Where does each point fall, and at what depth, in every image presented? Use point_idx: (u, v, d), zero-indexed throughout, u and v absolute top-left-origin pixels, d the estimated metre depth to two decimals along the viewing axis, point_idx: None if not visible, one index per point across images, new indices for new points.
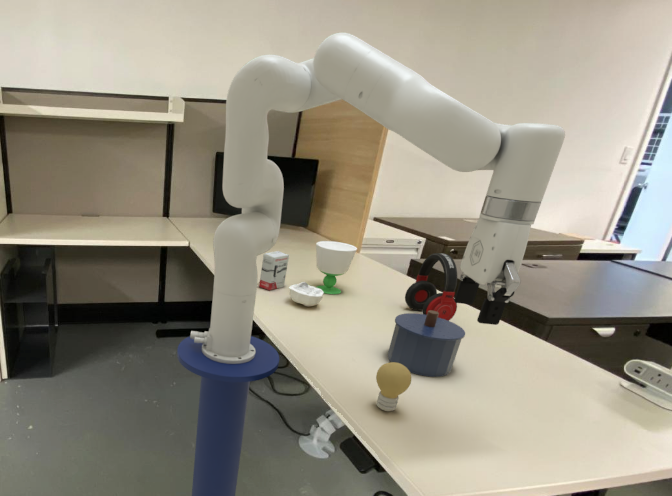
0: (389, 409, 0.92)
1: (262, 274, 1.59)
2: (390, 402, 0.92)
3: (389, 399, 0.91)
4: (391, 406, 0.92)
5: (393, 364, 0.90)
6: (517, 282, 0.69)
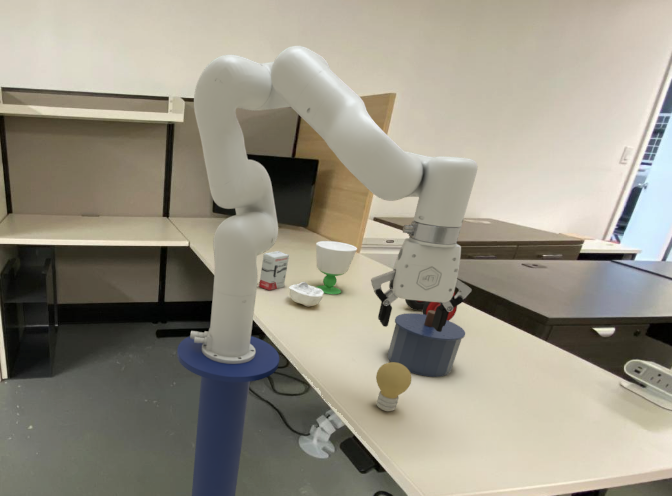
0: (389, 409, 0.92)
1: (262, 274, 1.59)
2: (390, 402, 0.92)
3: (389, 399, 0.91)
4: (391, 406, 0.92)
5: (393, 364, 0.90)
6: None
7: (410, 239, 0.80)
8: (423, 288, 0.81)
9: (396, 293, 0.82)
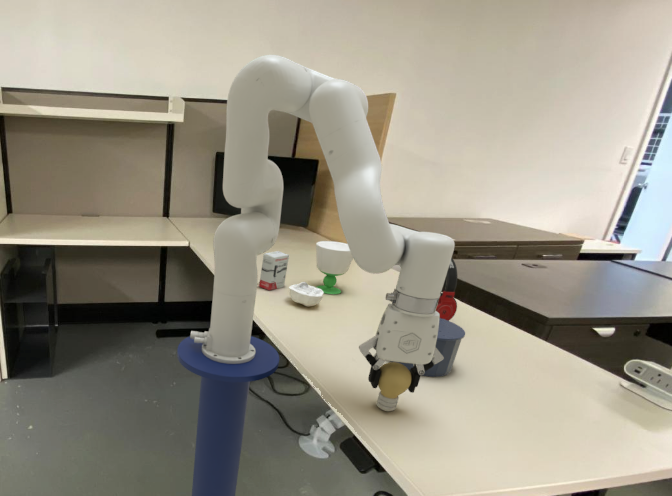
0: (389, 409, 0.92)
1: (262, 274, 1.59)
2: (390, 402, 0.92)
3: (389, 399, 0.91)
4: (391, 406, 0.92)
5: (394, 364, 0.90)
6: None
7: (392, 306, 0.85)
8: (404, 351, 0.86)
9: (379, 355, 0.87)
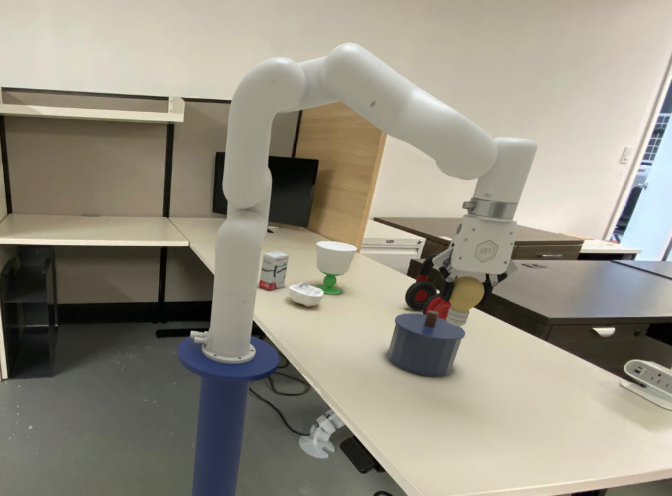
0: (460, 323, 0.94)
1: (262, 274, 1.59)
2: (462, 316, 0.93)
3: (461, 312, 0.93)
4: (462, 320, 0.93)
5: (466, 277, 0.91)
6: None
7: (469, 215, 0.87)
8: (480, 260, 0.87)
9: (454, 265, 0.88)
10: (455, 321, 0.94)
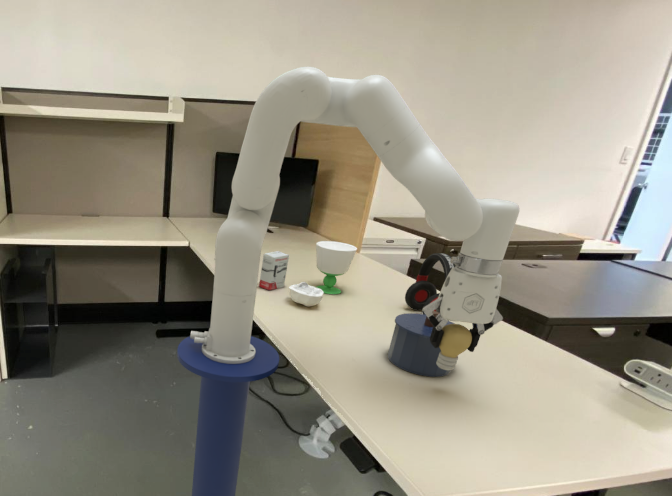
0: (449, 368, 0.99)
1: (262, 274, 1.59)
2: (451, 361, 0.98)
3: (450, 358, 0.98)
4: (451, 365, 0.98)
5: (455, 325, 0.96)
6: None
7: (457, 269, 0.92)
8: (467, 311, 0.92)
9: (443, 315, 0.94)
10: (445, 366, 0.99)
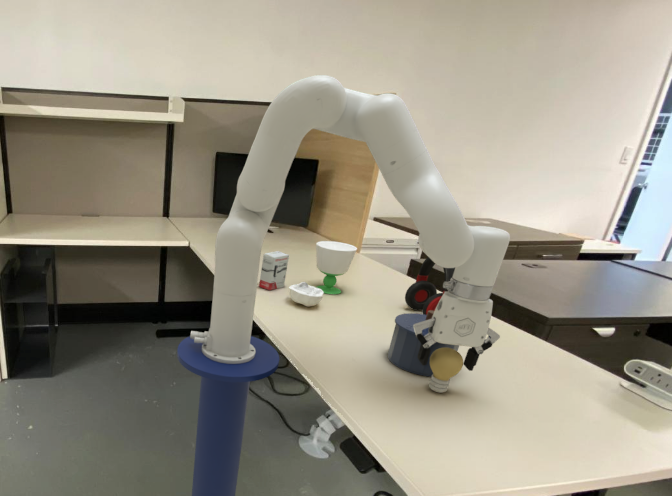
0: (441, 390, 1.01)
1: (262, 274, 1.59)
2: (443, 384, 1.00)
3: (442, 381, 1.00)
4: (443, 388, 1.01)
5: (447, 349, 0.99)
6: None
7: (449, 293, 0.94)
8: (459, 335, 0.95)
9: (435, 338, 0.96)
10: (437, 388, 1.01)
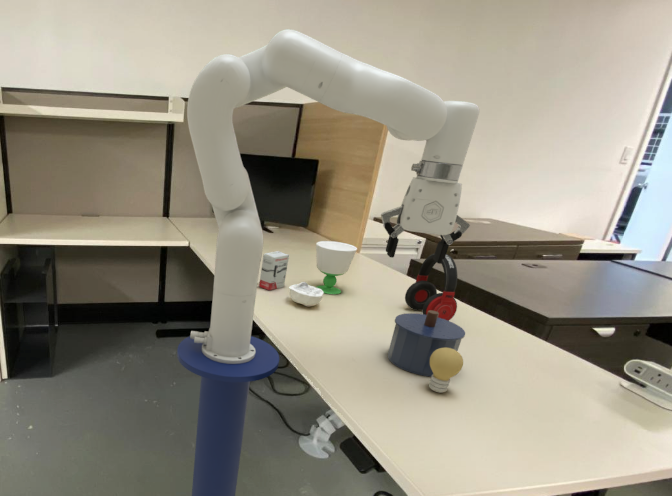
0: (441, 390, 1.01)
1: (262, 274, 1.59)
2: (443, 384, 1.00)
3: (442, 381, 1.00)
4: (443, 388, 1.01)
5: (447, 349, 0.99)
6: None
7: (417, 177, 0.91)
8: (427, 221, 0.92)
9: (403, 225, 0.93)
10: (437, 388, 1.01)
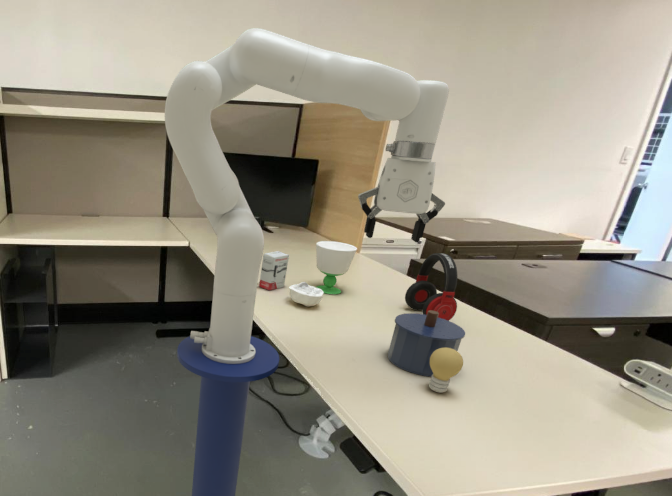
0: (441, 390, 1.01)
1: (262, 274, 1.59)
2: (443, 384, 1.00)
3: (442, 381, 1.00)
4: (443, 388, 1.01)
5: (447, 349, 0.99)
6: None
7: (392, 157, 0.92)
8: (403, 200, 0.93)
9: (379, 205, 0.94)
10: (437, 388, 1.01)
